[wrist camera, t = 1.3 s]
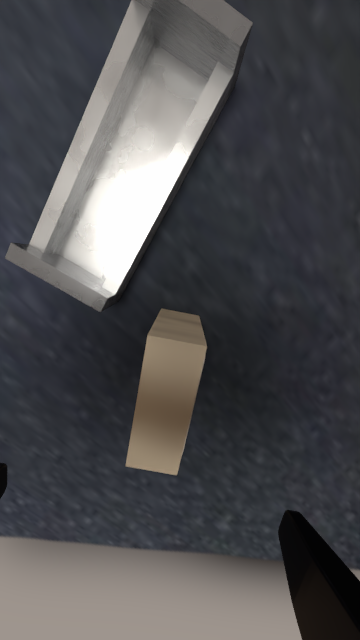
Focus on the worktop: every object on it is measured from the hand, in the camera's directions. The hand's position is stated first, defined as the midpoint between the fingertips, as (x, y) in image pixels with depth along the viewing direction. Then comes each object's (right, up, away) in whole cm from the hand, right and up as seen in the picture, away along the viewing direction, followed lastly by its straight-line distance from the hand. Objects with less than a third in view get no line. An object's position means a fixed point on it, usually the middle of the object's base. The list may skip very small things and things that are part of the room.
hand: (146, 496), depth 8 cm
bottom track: (-2, +15, +9) cm, 18 cm away
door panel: (0, +2, +12) cm, 12 cm away
